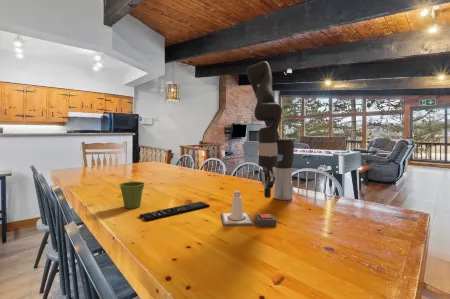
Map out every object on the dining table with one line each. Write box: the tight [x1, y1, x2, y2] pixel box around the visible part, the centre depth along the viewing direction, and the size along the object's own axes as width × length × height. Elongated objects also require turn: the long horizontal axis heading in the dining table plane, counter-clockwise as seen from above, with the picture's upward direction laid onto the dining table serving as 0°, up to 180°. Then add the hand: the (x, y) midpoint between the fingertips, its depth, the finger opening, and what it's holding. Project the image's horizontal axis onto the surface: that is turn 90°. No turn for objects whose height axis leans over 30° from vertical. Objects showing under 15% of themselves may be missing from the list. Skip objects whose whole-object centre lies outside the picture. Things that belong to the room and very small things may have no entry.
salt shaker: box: [230, 190, 244, 219], centre depth 105 cm, size 5×5×11 cm
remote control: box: [139, 201, 210, 223], centre depth 115 cm, size 8×32×2 cm, turn 130°
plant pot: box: [118, 181, 146, 209], centre depth 122 cm, size 12×12×11 cm
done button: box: [258, 213, 272, 219], centre depth 101 cm, size 4×4×2 cm
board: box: [220, 211, 255, 227], centre depth 106 cm, size 12×14×1 cm
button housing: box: [254, 213, 277, 228], centre depth 102 cm, size 7×7×2 cm
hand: (267, 197), depth 101 cm, fingers closed
